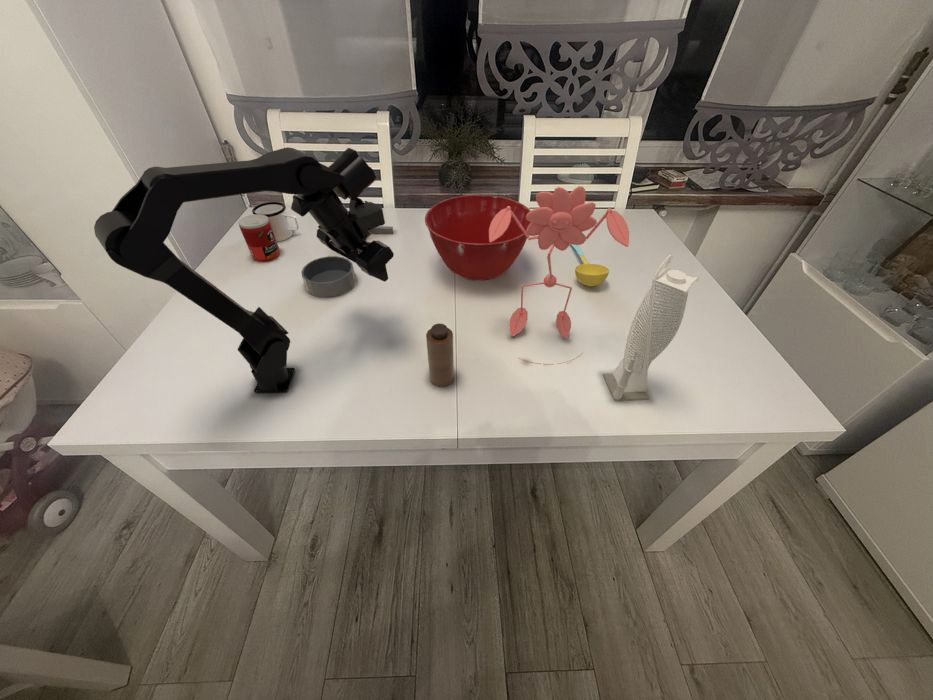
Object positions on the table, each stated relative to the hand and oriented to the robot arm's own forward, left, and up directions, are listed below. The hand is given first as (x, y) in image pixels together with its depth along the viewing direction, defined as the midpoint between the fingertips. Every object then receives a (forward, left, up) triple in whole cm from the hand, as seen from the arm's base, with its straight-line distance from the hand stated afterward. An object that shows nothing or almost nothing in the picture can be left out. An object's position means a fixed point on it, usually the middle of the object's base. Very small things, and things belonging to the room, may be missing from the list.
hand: (373, 271), depth 84 cm
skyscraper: (-21, -52, -14) cm, 58 cm away
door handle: (+42, +10, -14) cm, 45 cm away
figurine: (-8, -36, -14) cm, 40 cm away
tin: (+17, +16, -14) cm, 27 cm away
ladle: (+24, -54, -14) cm, 61 cm away
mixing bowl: (+24, -24, -14) cm, 37 cm away
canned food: (+32, +38, -14) cm, 51 cm away
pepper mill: (-18, -14, -14) cm, 27 cm away
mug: (+44, +37, -14) cm, 59 cm away
